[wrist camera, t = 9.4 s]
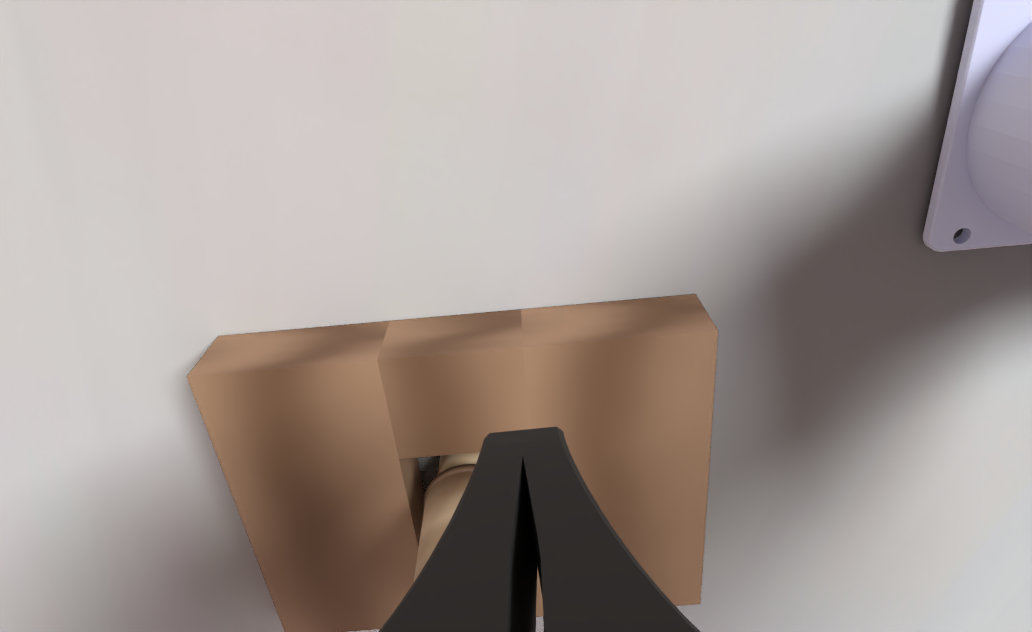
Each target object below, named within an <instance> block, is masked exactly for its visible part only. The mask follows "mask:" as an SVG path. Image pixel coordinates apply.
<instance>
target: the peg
mask: <svg viewBox="0 0 1032 632" xmlns="http://www.w3.org/2000/svg"><path fill="white" fill-rule="evenodd" d="M479 454H480V452H476V453H464V454H452V455H440V461H439V469H438V475H437V476H436V477H435V478H434V479H433V480H432V481H431V482H430V484H429V485H428V487H427V489H426V492H425V497H424V504H423V507H424V514H423V521H422V528H421V534H420V541H419V548H418V555H417V562H416V569H415V576H414V582H415V580H416V578H417V577H418V575H419V574H420V572H421V571H422V569H423V567H424V566H425V564H426V563H427V561H428V559H429V558H430V556H431V554H432V552H433V550H434V549H435V547H436V545H437V543H438V542H439V540H440V538H441V536H442V534H443V533H444V531H445V529H446V527H447V526H448V524H449V522H450V520H451V518H452V516H453V514H454V512H455V510H456V508H457V505H458V503H459V501H460V499H461V497H462V495H463V493H464V491H465V489H466V487H467V484H468V482H469V480H470V477H471V475H472V472H473V470H474V467H475V465H476V462H477V460H478V457H479Z"/></svg>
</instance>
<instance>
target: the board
mask: <svg viewBox="0 0 1032 632" xmlns="http://www.w3.org/2000/svg"><path fill="white" fill-rule="evenodd" d="M717 340H718V330H717V328H716V326H715V325H714V323H713V321H712V320H711V318H710V317H709V315H708V313H707V312H706V310H705V308H704V307H703V305H702V303H701V302H700V300H699V299H698V297H697V295H696V294H690V295H678V296H667V297H656V298H644V299H633V300H622V301H610V302H599V303H588V304H576V305H565V306H553V307H542V308H531V309H519V310H508V311H497V312H485V313H474V314H463V315H451V316H440V317H429V318H417V319H406V320H395V321H383V322H372V323H360V324H349V325H338V326H326V327H315V328H304V329H292V330H281V331H270V332H258V333H247V334H236V335H224V336H218V337H217V338H216V340H215V341H214V342H213V344H212V345H211V346H210V347H209V349H208V350H207V351H206V353H205V354H204V355H203V356H202V358H201V359H200V360H199V362H198V363H197V364H196V365H195V367H194V368H193V369H192V371H191V372H190V373H189V374H188V376H187V379H188V382H189V384H190V387H191V389H192V392H193V395H194V397H195V400H196V402H197V405H198V408H199V410H200V413H201V415H202V418H203V421H204V423H205V426H206V428H207V431H208V434H209V436H210V439H211V441H212V444H213V447H214V449H215V452H216V454H217V457H218V460H219V462H220V465H221V467H222V470H223V472H224V475H225V478H226V480H227V483H228V485H229V488H230V491H231V493H232V496H233V498H234V501H235V504H236V506H237V509H238V511H239V514H240V517H241V519H242V522H243V524H244V527H245V530H246V532H247V535H248V537H249V540H250V543H251V545H252V548H253V550H254V553H255V556H256V558H257V561H258V563H259V566H260V569H261V571H262V574H263V576H264V579H265V581H266V584H267V587H268V589H269V592H270V594H271V597H272V600H273V602H274V605H275V607H276V610H277V613H278V615H279V618H280V620H281V623H282V626H283V628H284V631H285V632H346V631H359V630H372V629H381V628H382V627H383V625H384V624H385V623H386V621H387V620H388V619H389V617H390V616H391V615H392V613H393V612H394V611H395V609H396V608H397V606H398V605H399V604H400V602H401V601H402V599H403V598H404V596H405V595H406V593H407V592H408V591H409V589H410V588H411V586H412V585H413V583H414V576H415V569H416V562H417V555H418V548H419V541H420V534H421V528H422V521H423V514H424V507H423V504H424V497H425V493H424V488H423V483H422V478H421V473H420V468H419V463H418V458H417V457H428V456H440V455H452V454H464V453H476V452H480V451H481V448H482V444H483V441H484V438H485V437H486V436H487V435H488V434H489V433H494V432H505V431H515V430H525V429H536V428H546V427H558V428H560V429H561V430H562V431H563V432H564V437H565V440H566V443H567V446H568V448H569V451H570V453H571V456H572V458H573V460H574V462H575V464H576V466H577V468H578V470H579V472H580V474H581V476H582V478H583V480H584V482H585V483H586V485H587V487H588V489H589V490H590V492H591V494H592V495H593V497H594V499H595V500H596V502H597V504H598V505H599V507H600V509H601V510H602V512H603V514H604V515H605V517H606V518H607V520H608V521H609V523H610V524H611V526H612V527H613V529H614V530H615V531H616V533H617V534H618V536H619V537H620V538H621V540H622V541H623V543H624V544H625V546H626V547H627V548H628V550H629V551H630V552H631V554H632V555H633V556H634V558H635V559H636V560H637V561H638V563H639V564H640V565H641V567H642V568H643V569H644V570H645V571H646V573H647V574H648V575H649V576H650V578H651V579H652V580H653V581H654V582H655V584H656V585H657V586H658V587H659V588H660V589H661V591H662V592H663V593H664V594H665V595H666V596H667V597H668V598H669V600H670V601H671V602H672V603H673V604H674V605H675V606H680V605H693V604H700V600H701V585H702V569H703V554H704V539H705V524H706V508H707V493H708V478H709V462H710V447H711V432H712V417H713V401H714V386H715V371H716V355H717ZM539 616H543V598H542V592H541V586H540V580H539V574H538V567H537V599H536V617H539Z"/></svg>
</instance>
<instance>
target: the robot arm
mask: <svg viewBox="0 0 1032 632" xmlns="http://www.w3.org/2000/svg"><path fill="white" fill-rule="evenodd" d="M962 228H963V231H962V233H961V235H960V236H959V237H958V238H956V239H953V237H954V235H955V233H956V232H957V231H958V230H959V229H962ZM923 242H924V243H925V245H926V246H928V247H929V248H931V249H933V250H934V251H938V252H946V251H957V250H968V249H979V248H991V247H1002V246H1013V245H1024V244H1032V0H974V2H973V6H972V11H971V16H970V20H969V25H968V29H967V34H966V39H965V43H964V48H963V52H962V57H961V62H960V66H959V71H958V76H957V80H956V85H955V89H954V94H953V99H952V103H951V108H950V113H949V117H948V122H947V126H946V131H945V136H944V140H943V145H942V149H941V154H940V159H939V163H938V168H937V173H936V177H935V182H934V186H933V191H932V196H931V200H930V205H929V209H928V214H927V219H926V223H925V228H924V233H923ZM537 567H538V574H539V580H540V586H541V592H542V598H543V619H544V632H700V631H699V630H698V629H697V628H696V627H695V626H694V625H693V624H692V623H691V622H690V621H689V620H688V619H687V618H686V617H685V616H684V615H683V614H682V613H681V612H680V611H679V610H678V609H677V607H676V606H675V605H674V604H673V603H672V602H671V601H670V600H669V598H668V597H667V596H666V595H665V594H664V593H663V592H662V591H661V589H660V588H659V587H658V586H657V585H656V584H655V582H654V581H653V580H652V579H651V578H650V576H649V575H648V574H647V573H646V571H645V570H644V569H643V568H642V567H641V565H640V564H639V563H638V561H637V560H636V559H635V558H634V556H633V555H632V554H631V552H630V551H629V550H628V548H627V547H626V546H625V544H624V543H623V541H622V540H621V538H620V537H619V536H618V534H617V533H616V531H615V530H614V529H613V527H612V526H611V524H610V523H609V521H608V520H607V518H606V517H605V515H604V514H603V512H602V510H601V509H600V507H599V505H598V504H597V502H596V500H595V499H594V497H593V495H592V494H591V492H590V490H589V489H588V487H587V485H586V483H585V482H584V480H583V478H582V476H581V474H580V472H579V470H578V468H577V466H576V464H575V462H574V460H573V458H572V456H571V453H570V451H569V448H568V446H567V443H566V440H565V437H564V432H563V431H562V430H561V429H560V428H558V427H546V428H536V429H525V430H515V431H505V432H494V433H489V434H488V435H487V436H486V437H485V438H484V441H483V444H482V448H481V451H480V454H479V457H478V460H477V462H476V465H475V467H474V470H473V472H472V475H471V477H470V480H469V482H468V484H467V487H466V489H465V491H464V493H463V495H462V497H461V499H460V501H459V503H458V505H457V508H456V510H455V512H454V514H453V516H452V518H451V520H450V522H449V524H448V526H447V527H446V529H445V531H444V533H443V534H442V536H441V538H440V540H439V542H438V543H437V545H436V547H435V549H434V550H433V552H432V554H431V556H430V558H429V559H428V561H427V563H426V564H425V566H424V567H423V569H422V571H421V572H420V574H419V575H418V577H417V578H416V580H415V582H414V583H413V585H412V586H411V588H410V589H409V591H408V592H407V593H406V595H405V596H404V598H403V599H402V601H401V602H400V604H399V605H398V606H397V608H396V609H395V611H394V612H393V613H392V615H391V616H390V617H389V619H388V620H387V621H386V623H385V624H384V625H383V627H382V628H381V629H380V631H379V632H535V630H536V599H537Z"/></svg>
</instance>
